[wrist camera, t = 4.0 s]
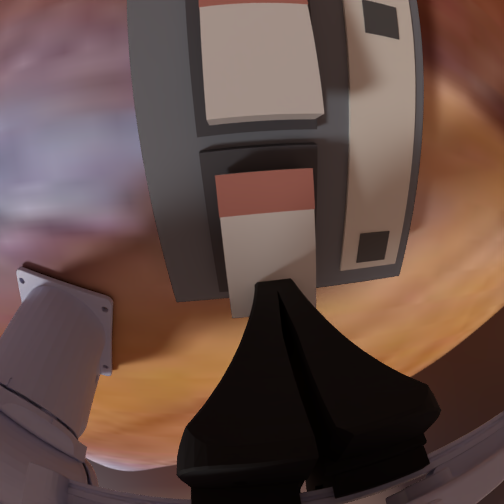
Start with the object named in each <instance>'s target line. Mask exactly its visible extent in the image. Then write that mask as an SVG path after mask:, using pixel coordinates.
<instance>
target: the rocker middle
mask: <svg viewBox="0 0 504 504" xmlns="http://www.w3.org/2000/svg"><path fill="white" fill-rule="evenodd" d="M199 10H200V29H201V48H202V65H203V80H204V94H205V108H206V120H207V122H208V124H209V125H218V124H228V123H239V122H251V121H267V120H293V119H316V118H318V117H319V116H321V115H323V114H324V106H323V97H322V89H321V81H320V74H319V67H318V60H317V54H316V48H315V42H314V36H313V30H312V25H311V20H310V15H309V10H308V1H307V0H199Z"/></svg>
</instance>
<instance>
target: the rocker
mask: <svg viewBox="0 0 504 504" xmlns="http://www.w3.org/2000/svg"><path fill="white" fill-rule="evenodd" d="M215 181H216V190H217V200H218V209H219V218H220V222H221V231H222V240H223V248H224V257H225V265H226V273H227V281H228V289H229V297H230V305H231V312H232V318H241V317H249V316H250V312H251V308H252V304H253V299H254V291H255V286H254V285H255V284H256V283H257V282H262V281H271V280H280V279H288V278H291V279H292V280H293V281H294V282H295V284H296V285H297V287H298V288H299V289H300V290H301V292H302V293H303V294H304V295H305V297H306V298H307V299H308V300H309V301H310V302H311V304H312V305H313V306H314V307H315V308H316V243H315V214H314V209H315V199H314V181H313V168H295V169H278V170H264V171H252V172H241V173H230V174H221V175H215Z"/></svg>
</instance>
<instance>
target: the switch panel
mask: <svg viewBox="0 0 504 504" xmlns="http://www.w3.org/2000/svg"><path fill="white" fill-rule="evenodd" d="M307 1H308V10H309V15H310V20H311V25H312V30H313V36H314V42H315V48H316V54H317V60H318V67H319V74H320V81H321V89H322V97H323V106H324V114H323V115H321V116H319V117H318V118H316V119H293V120H267V121H251V122H239V123H228V124H218V125H209V124H208V122H207V120H206V108H205V94H204V80H203V65H202V48H201V29H200V10H199V0H127V21H128V41H129V55H130V67H131V78H132V87H133V96H134V104H135V112H136V119H137V126H138V133H139V139H140V145H141V151H142V157H143V163H144V168H145V174H146V179H147V184H148V189H149V194H150V199H151V204H152V208H153V213H154V217H155V222H156V226H157V230H158V235H159V239H160V243H161V247H162V251H163V255H164V259H165V262H166V266H167V270H168V274H169V277H170V281H171V285H172V288H173V292H174V295H175V298H176V302H186V301H198V300H210V299H221V298H230V297H229V289H228V281H227V273H226V265H225V257H224V248H223V240H222V231H221V222H220V218H219V209H218V200H217V190H216V181H215V175H221V174H230V173H241V172H252V171H264V170H278V169H295V168H313V181H314V199H315V209H314V214H315V243H316V288H319V287H327V286H334V285H341V284H348V283H355V282H362V281H369V280H375V279H382V278H388V277H394V276H399V274H400V270H401V266H402V262H403V258H404V254H405V249H406V245H407V240H408V235H409V230H410V225H411V220H412V214H413V208H414V202H415V196H416V189H417V182H418V174H419V165H420V155H421V144H422V129H423V103H424V79H423V54H422V40H421V30H420V21H419V13H418V6H417V0H307Z"/></svg>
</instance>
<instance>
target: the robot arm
mask: <svg viewBox="0 0 504 504" xmlns="http://www.w3.org/2000/svg"><path fill="white" fill-rule="evenodd" d="M16 273H17V279H18V285H19V290H20V296H21V300H22V304H21V306H20V307H19V309H18V310H17V312H16V313H15V315H14V316H13V318H12V320H11V321H10V323H9V325H8V326H7V328H6V330H5V331H4V333H3V335H2V336H1V338H0V504H344V503H348V502H351V501H355V500H358V499H361V498H365V497H368V496H371V495H374V494H377V493H380V492H383V491H386V490H388V489H391V488H394V487H396V486H399V485H401V484H404V483H406V482H409V481H411V480H414V479H416V478H418V477H420V476H423V475H425V474H427V473H428V474H427V475H426V477H425V478H424V479H422V480H420V481H419V482H416V483H414V484H412V485H410V486H407V487H406V488H404V489H403V490H401V491H399V492H397V493H395V494H393V495H391V496H389V497H387V498H386V503H387V504H476V503H478V502H479V501H480V500H481V499H483V498H484V497H485V496H486V495H487V494H489V493H490V492H491V491H492V490H493V489H495V488H496V487H497V486H498V485H499V484H500V483H501V482H502V481H504V411H503V412H501V413H500V414H499V415H497V416H495V417H494V418H492V419H491V420H490V421H488V422H486V423H485V424H483V425H482V426H480V427H478V428H477V429H475V430H473V431H472V432H470V433H468V434H467V435H465V436H463V437H461V438H459V439H457V440H455V441H454V442H452V443H450V444H448V445H446V446H444V447H442V448H440V449H438V450H436V451H434V452H432V453H430V454H426V451H425V448H424V446H423V445H424V444H425V443H426V438H425V436H424V432H425V431H426V430H427V429H428V428H429V427H430V426H431V425H432V424H433V423H434V422H435V421H436V420H437V418H438V417H439V415H440V412H441V409H440V407H439V405H438V403H437V401H436V398H435V396H434V394H433V393H432V391H431V390H430V388H429V387H428V385H427V384H424V383H422V382H420V381H417V380H415V379H413V378H411V377H408V376H406V375H404V374H402V373H400V372H398V371H396V370H394V369H392V368H390V367H388V366H387V365H385V364H383V363H382V362H380V361H378V360H377V359H375V358H374V357H372V356H371V355H369V354H367V353H366V352H364V351H363V350H362V349H360V348H359V347H358V346H356V345H355V344H354V343H352V342H351V341H350V340H349V339H347V338H346V337H345V336H344V335H343V334H341V333H340V332H339V331H338V330H337V329H336V328H335V327H334V326H333V325H332V324H331V323H329V322H328V321H327V320H326V319H325V318H324V317H323V316H322V315H321V313H320V312H319V311H318V310H317V309H316V308H315V307H314V306H313V305H312V304H311V302H310V301H309V300H308V299H307V298H306V297H305V295H304V294H303V293H302V292H301V290H300V289H299V288H298V287H297V285H296V284H295V282H294V281H293V280H292V279H291V278H288V279H280V280H271V281H262V282H257V283H256V284H255V285H254V286H255V291H254V299H253V304H252V308H251V312H250V316H249V320H248V323H247V326H246V329H245V331H244V334H243V337H242V340H241V342H240V344H239V347H238V349H237V351H236V353H235V355H234V357H233V359H232V361H231V363H230V365H229V367H228V369H227V371H226V372H225V374H224V376H223V377H222V379H221V381H220V382H219V384H218V385H217V387H216V388H215V390H214V391H213V393H212V394H211V396H210V397H209V399H208V400H207V401H206V403H205V404H204V405H203V407H202V408H201V409H200V410H199V412H198V413H197V414H196V415H195V416H194V418H193V419H192V420H191V421H190V422H189V423H188V425H187V426H186V428H185V430H184V433H183V436H182V439H181V442H180V446H179V450H178V456H177V476H178V477H179V478H180V479H181V480H182V481H183V482H185V483H186V484H188V485H189V486H190V487H191V500H186V499H172V498H161V497H152V496H145V495H137V494H131V493H126V492H120V491H115V490H110V489H106V488H101V487H99V486H98V481H97V477H96V474H95V471H94V470H93V467H92V466H91V464H90V463H89V462H88V461H87V460H86V459H85V455H86V450H87V447H86V446H85V445H84V444H82V443H81V442H79V441H78V438H79V437H80V436H81V435H82V433H83V432H84V430H85V428H86V426H87V422H88V418H89V414H90V410H91V406H92V402H93V398H94V394H95V391H96V387H97V383H98V380H99V376H100V374H102V375H106V376H111V374H112V322H113V300H112V299H111V298H110V297H109V296H107V295H103V294H100V293H97V292H94V291H90V290H87V289H84V288H81V287H78V286H75V285H72V284H69V283H66V282H63V281H60V280H57V279H54V278H51V277H48V276H46V275H43V274H40V273H37V272H35V271H32V270H29V269H27V268H24V267H19V268H18V269H17V271H16ZM105 307H106V308H107V309H106V308H105ZM305 480H306V489H307V492H303V493H301V492H300V489H301V486H302V485H303V483H304V481H305Z"/></svg>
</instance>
